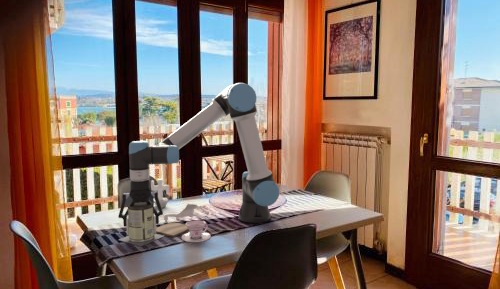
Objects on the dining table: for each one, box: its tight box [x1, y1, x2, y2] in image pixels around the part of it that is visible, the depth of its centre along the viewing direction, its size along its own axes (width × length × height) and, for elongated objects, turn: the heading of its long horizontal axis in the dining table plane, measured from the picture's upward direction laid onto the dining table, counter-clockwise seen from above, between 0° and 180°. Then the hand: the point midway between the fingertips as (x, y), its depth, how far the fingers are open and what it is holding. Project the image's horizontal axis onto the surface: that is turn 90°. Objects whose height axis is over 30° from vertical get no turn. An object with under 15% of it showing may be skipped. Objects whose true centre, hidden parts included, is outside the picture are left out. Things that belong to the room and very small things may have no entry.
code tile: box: [118, 233, 165, 247], centre depth 152 cm, size 13×13×1 cm
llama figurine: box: [163, 202, 210, 223], centre depth 175 cm, size 2×12×20 cm
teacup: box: [181, 219, 212, 243], centre depth 153 cm, size 12×12×6 cm
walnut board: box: [155, 221, 189, 238], centre depth 162 cm, size 13×13×1 cm
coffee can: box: [127, 201, 155, 242], centre depth 151 cm, size 10×10×14 cm
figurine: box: [150, 177, 170, 209], centre depth 199 cm, size 7×9×15 cm
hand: (141, 232), depth 152 cm, fingers closed on coffee can, 10 cm apart
